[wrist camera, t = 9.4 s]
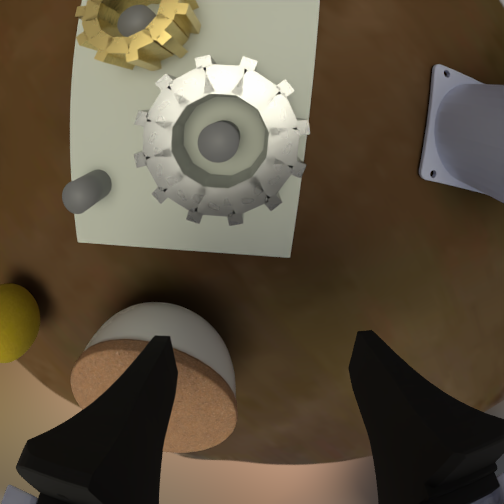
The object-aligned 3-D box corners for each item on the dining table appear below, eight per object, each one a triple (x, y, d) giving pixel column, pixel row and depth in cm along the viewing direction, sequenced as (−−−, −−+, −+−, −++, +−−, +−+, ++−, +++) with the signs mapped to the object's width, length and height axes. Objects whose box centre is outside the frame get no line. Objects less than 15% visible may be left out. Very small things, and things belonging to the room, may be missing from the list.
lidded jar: (89, 335, 24) (46, 419, 16) (146, 246, 21) (92, 337, 12) (190, 395, 27) (178, 482, 19) (267, 328, 24) (277, 433, 15)
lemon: (-1, 268, 21) (-54, 319, 14) (41, 264, 21) (-16, 324, 14) (21, 320, 24) (-21, 376, 16) (63, 321, 23) (22, 387, 16)
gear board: (317, -23, 13) (337, -55, 9) (287, 249, 21) (298, 288, 16) (95, -20, 12) (60, -43, 8) (85, 235, 20) (51, 267, 16)
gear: (305, 72, 15) (317, 65, 12) (289, 212, 18) (297, 231, 16) (155, 63, 15) (138, 56, 12) (150, 202, 18) (134, 219, 15)
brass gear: (210, -12, 13) (201, -40, 9) (189, 74, 15) (173, 64, 11) (119, -13, 12) (91, -35, 8) (98, 69, 14) (64, 63, 11)
